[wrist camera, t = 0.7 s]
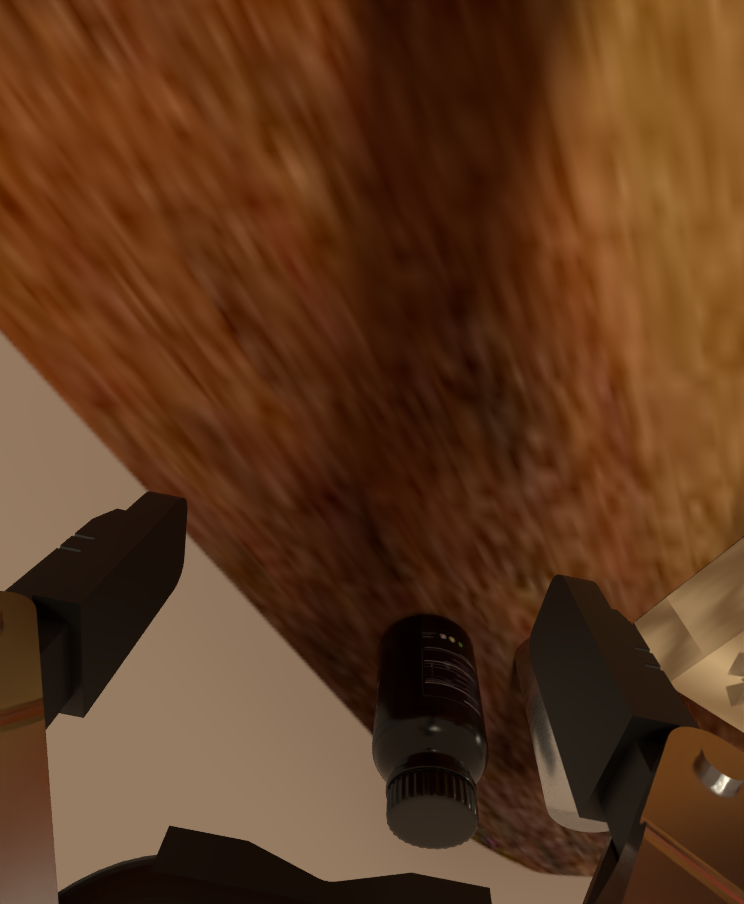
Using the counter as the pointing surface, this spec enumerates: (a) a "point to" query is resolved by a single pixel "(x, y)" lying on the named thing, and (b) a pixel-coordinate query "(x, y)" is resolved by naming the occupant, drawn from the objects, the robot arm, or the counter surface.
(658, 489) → the counter surface
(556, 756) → the white cylinder peg
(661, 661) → the jig
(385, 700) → the supplement bottle
